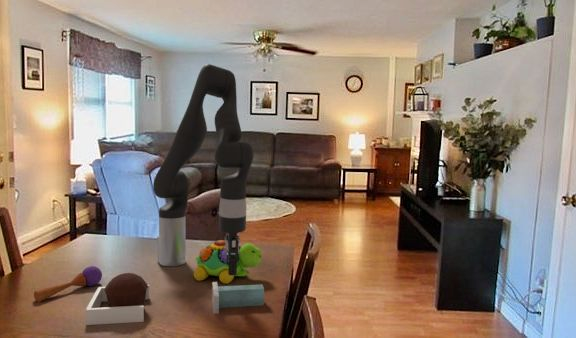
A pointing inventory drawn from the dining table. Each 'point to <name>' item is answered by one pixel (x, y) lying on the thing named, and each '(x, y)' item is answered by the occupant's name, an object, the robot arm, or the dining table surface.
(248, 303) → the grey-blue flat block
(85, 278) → the purple ball-ended brown rod
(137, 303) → the muffin
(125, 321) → the bay
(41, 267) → the dining table surface
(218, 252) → the turtle toy
